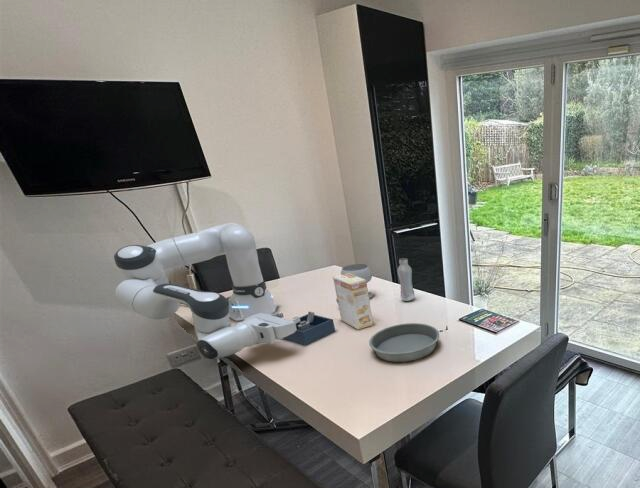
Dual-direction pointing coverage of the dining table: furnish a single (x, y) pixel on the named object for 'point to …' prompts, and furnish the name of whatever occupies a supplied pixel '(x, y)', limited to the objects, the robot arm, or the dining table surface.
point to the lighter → (304, 324)
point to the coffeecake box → (353, 300)
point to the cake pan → (404, 342)
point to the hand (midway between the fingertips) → (290, 316)
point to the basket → (312, 330)
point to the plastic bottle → (405, 280)
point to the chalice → (359, 272)
